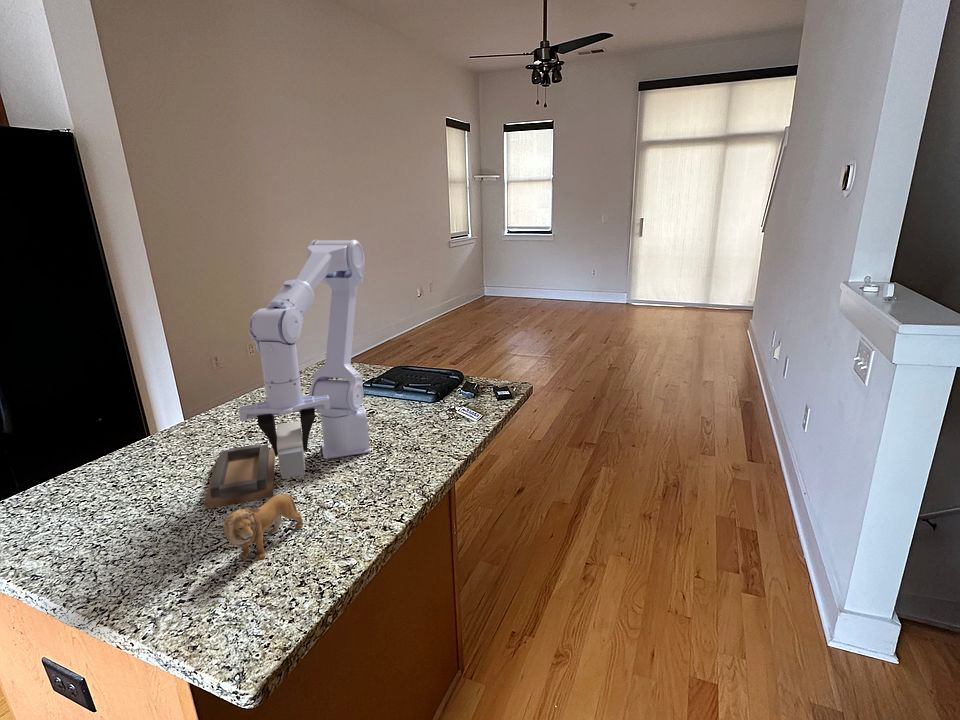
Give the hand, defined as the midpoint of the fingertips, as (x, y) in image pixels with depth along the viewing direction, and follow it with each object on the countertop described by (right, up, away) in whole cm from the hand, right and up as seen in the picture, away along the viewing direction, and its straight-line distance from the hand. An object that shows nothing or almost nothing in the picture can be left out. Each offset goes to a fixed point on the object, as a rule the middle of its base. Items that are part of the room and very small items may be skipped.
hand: (291, 451), depth 91 cm
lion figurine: (+1, -13, -12) cm, 18 cm away
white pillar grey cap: (0, -1, 0) cm, 2 cm away
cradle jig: (-12, -7, +8) cm, 16 cm away
